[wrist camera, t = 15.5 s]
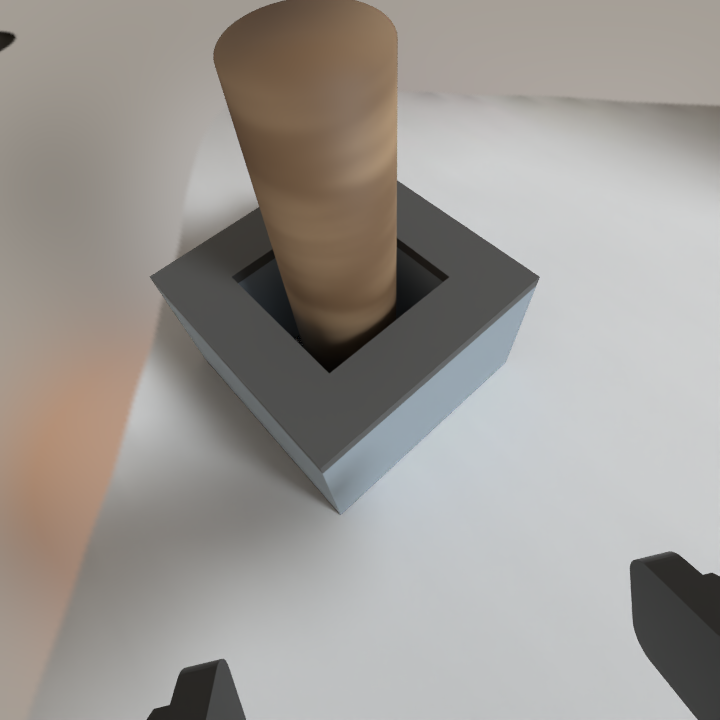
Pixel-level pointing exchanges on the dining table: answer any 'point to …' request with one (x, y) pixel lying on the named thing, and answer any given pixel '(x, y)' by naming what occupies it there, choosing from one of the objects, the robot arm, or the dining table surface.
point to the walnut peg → (321, 159)
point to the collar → (370, 363)
